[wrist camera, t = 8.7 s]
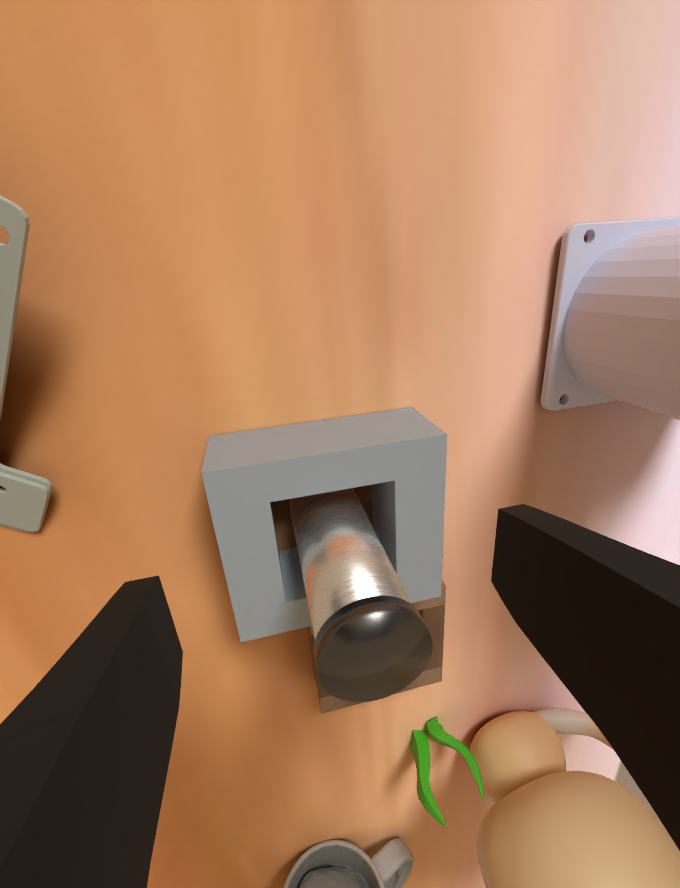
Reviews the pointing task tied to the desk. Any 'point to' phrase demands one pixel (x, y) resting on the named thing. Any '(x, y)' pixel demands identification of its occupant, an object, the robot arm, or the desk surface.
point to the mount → (432, 673)
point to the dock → (313, 472)
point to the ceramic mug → (351, 866)
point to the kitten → (552, 809)
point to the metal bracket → (3, 273)
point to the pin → (355, 601)
